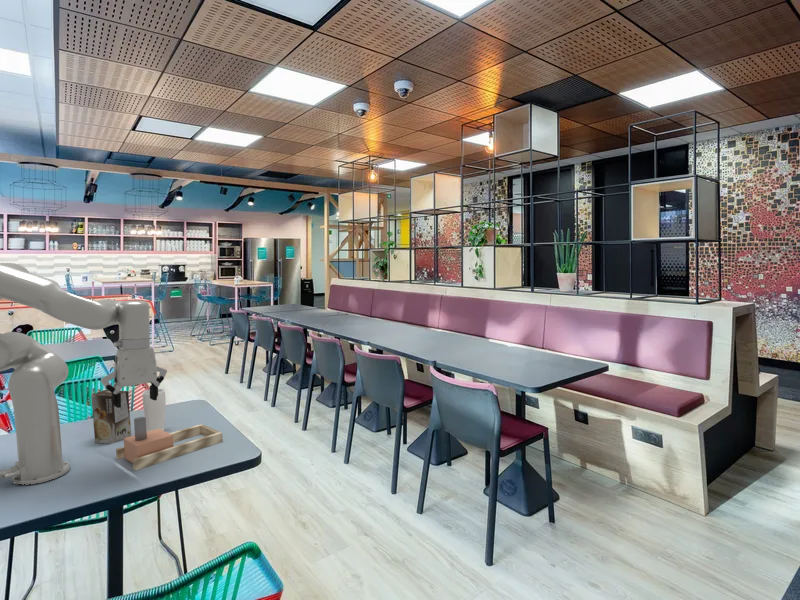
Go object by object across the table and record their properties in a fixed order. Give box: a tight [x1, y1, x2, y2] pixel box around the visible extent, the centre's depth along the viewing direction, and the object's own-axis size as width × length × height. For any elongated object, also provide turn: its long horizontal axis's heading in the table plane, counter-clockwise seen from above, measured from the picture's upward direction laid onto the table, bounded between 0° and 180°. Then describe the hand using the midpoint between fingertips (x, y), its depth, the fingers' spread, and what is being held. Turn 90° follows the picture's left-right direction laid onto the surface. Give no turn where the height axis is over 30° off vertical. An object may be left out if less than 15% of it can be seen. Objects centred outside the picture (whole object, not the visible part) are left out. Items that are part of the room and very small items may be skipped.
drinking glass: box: [142, 388, 167, 432], centre depth 157 cm, size 7×7×15 cm
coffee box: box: [91, 389, 132, 445], centre depth 152 cm, size 9×6×16 cm
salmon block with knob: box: [123, 416, 174, 464], centre depth 136 cm, size 10×9×12 cm
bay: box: [115, 423, 223, 471], centre depth 142 cm, size 26×13×4 cm, turn 141°
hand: (135, 403), depth 134 cm, fingers open, 9 cm apart
